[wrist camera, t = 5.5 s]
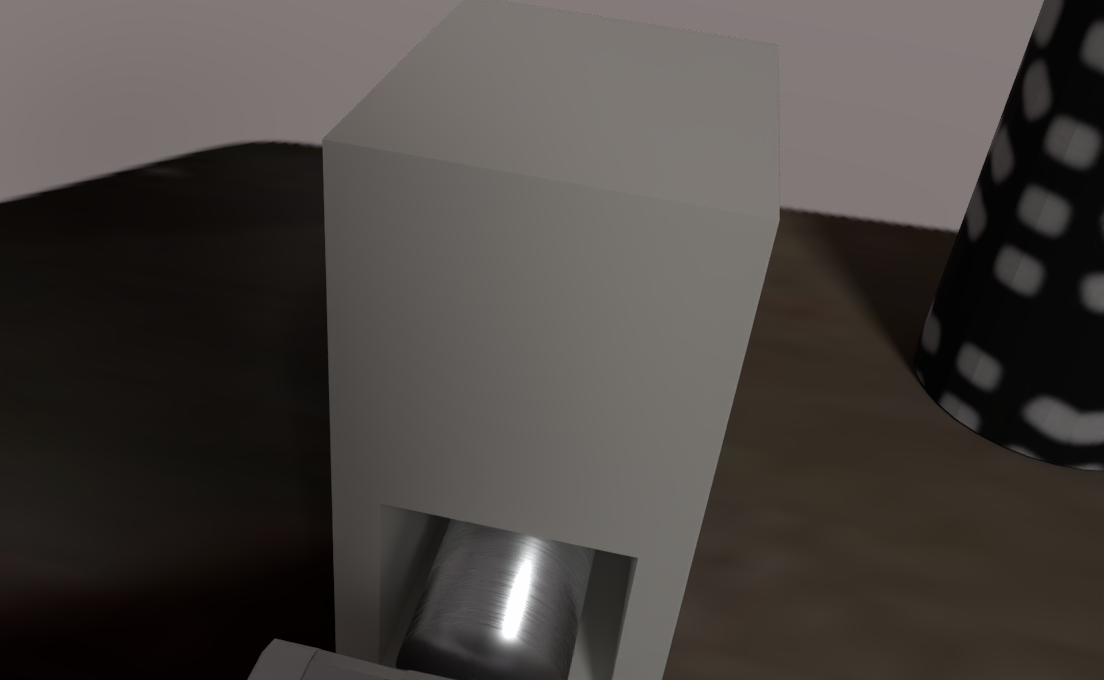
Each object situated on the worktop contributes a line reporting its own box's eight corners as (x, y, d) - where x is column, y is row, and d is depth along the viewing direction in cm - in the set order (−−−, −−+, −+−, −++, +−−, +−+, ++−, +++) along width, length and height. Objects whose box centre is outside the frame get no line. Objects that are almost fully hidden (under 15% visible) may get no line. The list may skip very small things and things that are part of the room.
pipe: (590, 843, 20) (662, 528, 15) (343, 784, 20) (336, 460, 15) (682, 274, 39) (727, 55, 34) (554, 250, 39) (580, 32, 34)
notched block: (639, 768, 20) (779, 219, 14) (337, 698, 21) (322, 140, 14) (672, 504, 27) (779, 44, 20) (441, 457, 28) (467, -6, 21)
